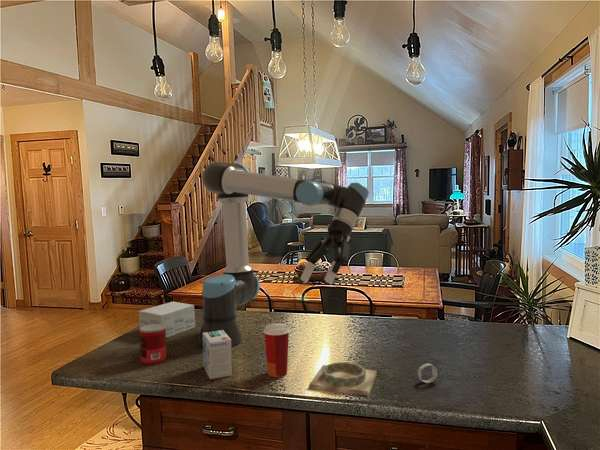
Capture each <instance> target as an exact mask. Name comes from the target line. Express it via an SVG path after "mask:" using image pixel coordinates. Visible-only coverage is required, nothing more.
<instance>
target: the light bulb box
mask: <svg viewBox="0 0 600 450" xmlns="http://www.w3.org/2000/svg"><path fill="white" fill-rule="evenodd" d="M202 334H203V347H202V362H203V363H202V364H203V365H202V367H203V368H204V371H205V372H206V374H207V377H208V378H209V380H213V379H219V378H225V377H230V376H233V371H232V370H233V369H232V365H233V363H232V347H231V339H230V338H229V336H228V335H227V334H226V333H225V332H224V331H223V330H219V331H213V332H206V333H202Z"/></svg>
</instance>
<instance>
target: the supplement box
mask: <svg viewBox="0 0 600 450" xmlns="http://www.w3.org/2000/svg"><path fill="white" fill-rule="evenodd" d="M138 317H139V321H138V323H139V328H140V327H142V326H144V325H148V324H164V325H165V329H166V338H168V337H172V336H175V335H176V334H181V333H183V332H185V331H188V330H192V329H194V328H196V318H195V317H196V315H195V305H194V304H190V303H185V302H184V303H183V302H177V301H170V302H166V303H163V304H159V305H156V306H152V307H148V308H144V309H141V310H138Z"/></svg>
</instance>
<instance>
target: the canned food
mask: <svg viewBox="0 0 600 450" xmlns="http://www.w3.org/2000/svg"><path fill="white" fill-rule="evenodd" d="M139 351H140V361H141V364H143V365H147V366H150V365H151V366H152V365H153V366H154V365H157V364H161V363H163V362H164V361H166V360H167V337H166V329H165V325H164V324H148V325H144V326H142V327H140V326H139Z"/></svg>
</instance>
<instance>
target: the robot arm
mask: <svg viewBox="0 0 600 450" xmlns="http://www.w3.org/2000/svg"><path fill="white" fill-rule="evenodd" d="M201 177H202V178H201V180H202V183H203V186H204V187H205V188H206V190H208V191H209V192H210V193H213V194H215V195H216V194H217V201H218V202H220V203H221V204H222V205H221V206H222V216H223V217H222V218H223V232H224V246H225V248H224V249H225V261H226V266H225V268H224V269H223V270H222V272H223V273H222V274H221V273H220V274H216V275H212V276H209V277H207V278H204V280H203V282H202V288H201V296H202V297H201V298H202V324H201V325H202V326H201V329H200V332H199V335H198V344H199V346H200V347H202V348H203V334H202V333H206V332H213V331H219V330H223V331H224V332H225V333H226V334H227V335H228V336H229V338H230V339H231V348H232V347H235V346H237V345H240V343H241V342H242V339H243V338H242V333H241V328H240V326H239V324H238V320H237V307H240V306H242V305H245V304H249V303H250V302H251V301H252V300H254V299H256V297H258V294H259V292H260V288H261V287H260V286H261V284H260V280H259V278H258V277H257V275H256V273H254V267H253V266H251V265H250V257H249V245H248V244H249V243H248V229H247V228H248V227H247V215H246V213H247V212H246V201H247V200H248V199H249V196H257V197H264V198H269V199H276V200H280V201H287V202H293V203H298V204H303V205H305V206H316V205H318V206H319V205H328V206H331V207H334V208H337V210H336V211H335V213H334V215H333V216H332V220H331V221H330V223H329V225H328V228H327V232H328V235H327V236H326V237H324V236H321V237H320V239H319V241H318V242H317V244H315V246H314V248H312V250H311V251H310V252H309V253H308V255H307V256H306V257H305V262H307V263H306V266H305V268H304V270H303V271H302V274H301V276H300V278H299V279H300V280H301V281H302V282H304V283H305V284H308V282H309V280H310V278H311V276H312V274H313V272H314V269H315V268H316V263H318V262H319V260H320V259H322V258H323V257H324V256H325V255H326V254H327V253H330V252H331V251H333V253H334V258H333V260H332V263H331V264H330V267H329V269H328V271H327V272H326V274H325V277H324V279H323V281H325V282H327V283H328V284H329V285H333V283H334V280H335V278H336V276H337V274H338V273H339V271H340V269H341V266H343V265H344V264H347V263H349V255H350V245H351V241H352V238H351V234H352V233H353V229H354V227H355V226H356V223H357V221H358V219H359V217H360V215H361V213H362V211H363V208H364V207H365V205H366V204H367V203H366V202H367V199H368V197H369V193H370V192H369V190H368V187H366V186H365V185H364V184H362V183H360V182H354V181H353V182H350V183H349V185H347V187H346V186H341V185H339V184H335V183H332V182H328V181H326V180H322V179H318V178H317V179H314V180H306V179H299V178H294V177H286V176H279V175H271V174H266V173H259V172H258V173H257V172H251V171H250V170H249V169H248V168H247V166H245V165H243V164H240V163H237V162H235V163H234V162H224V161H223V162H222V161H214V162H211V163H209V164H208V165H206V167H204V170H203V172H202V176H201Z"/></svg>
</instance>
